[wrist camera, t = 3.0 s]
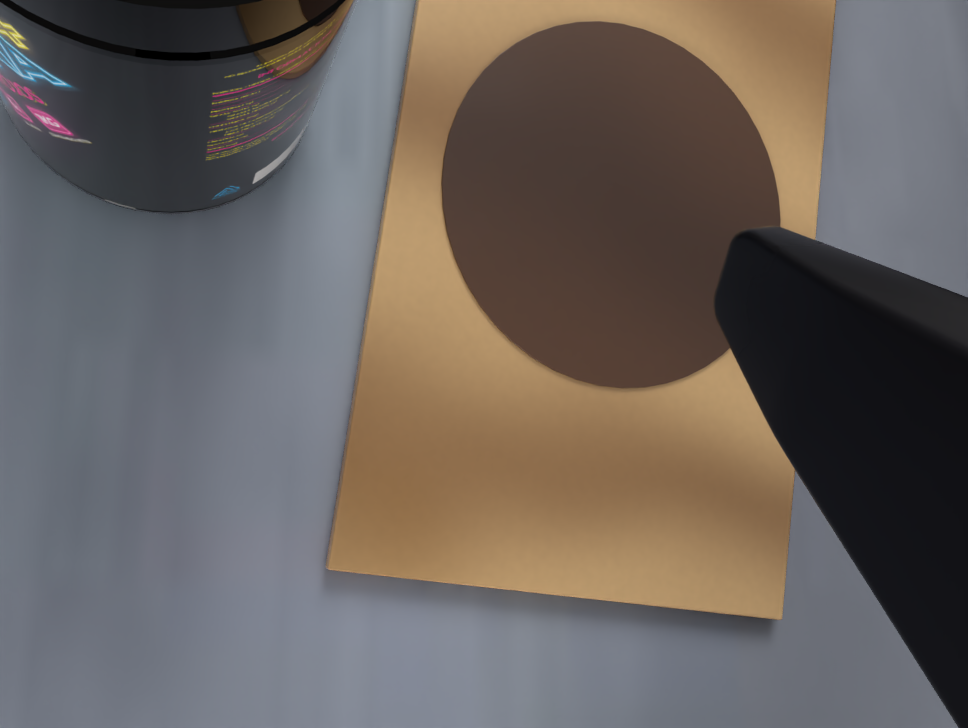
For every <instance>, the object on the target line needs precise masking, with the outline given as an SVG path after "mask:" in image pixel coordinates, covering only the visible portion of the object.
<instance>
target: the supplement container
mask: <svg viewBox="0 0 968 728" xmlns="http://www.w3.org/2000/svg"><path fill="white" fill-rule="evenodd" d="M357 1H358V0H0V98H1V100H2V102H3V104H4V106H5V108H6V110H7V112H8V114H9V116H10V118H11V120H12V122H13V124H14V126H15V127H16V129H17V131H18V132H19V134H20V135H21V137H22V138H23V140H24V141H25V142H26V143H27V145H28V146H29V147H30V148H31V150H32V151H33V152H34V153H35V154H36V155H37V156H38V157H39V158H40V159H41V160H42V161H43V162H44V163H45V164H46V165H47V166H48V167H49V168H50V169H52V170H53V171H54V172H55V173H56V174H57V175H59V176H60V177H61V178H63V179H64V180H66V181H67V182H69V183H70V184H72V185H73V186H75V187H77V188H78V189H80V190H82V191H84V192H85V193H87V194H89V195H91V196H94V197H96V198H98V199H100V200H102V201H105V202H108V203H111V204H114V205H117V206H120V207H123V208H127V209H132V210H136V211H142V212H149V213H159V214H182V213H192V212H199V211H205V210H209V209H213V208H217V207H220V206H223V205H226V204H229V203H231V202H234V201H236V200H238V199H240V198H242V197H244V196H246V195H248V194H250V193H251V192H253V191H254V190H256V189H258V188H259V187H261V186H262V185H263V184H265V183H266V182H267V181H268V180H270V179H271V178H272V177H273V176H274V175H275V174H276V173H277V172H278V171H279V170H280V169H281V168H282V167H283V166H284V165H285V163H286V162H287V161H288V160H289V158H290V157H291V156H292V154H293V153H294V151H295V150H296V148H297V146H298V145H299V143H300V141H301V139H302V137H303V135H304V133H305V130H306V128H307V125H308V123H309V120H310V118H311V115H312V113H313V110H314V108H315V105H316V103H317V100H318V98H319V95H320V93H321V91H322V88H323V86H324V83H325V81H326V78H327V76H328V73H329V71H330V68H331V66H332V63H333V61H334V58H335V56H336V53H337V51H338V48H339V46H340V43H341V41H342V38H343V36H344V33H345V31H346V28H347V26H348V23H349V21H350V18H351V16H352V13H353V11H354V8H355V6H356V3H357Z"/></svg>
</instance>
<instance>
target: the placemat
mask: <svg viewBox="0 0 968 728" xmlns="http://www.w3.org/2000/svg"><path fill="white" fill-rule="evenodd" d="M835 6H836V0H416V4H415V11H414V17H413V23H412V29H411V36H410V42H409V48H408V54H407V61H406V67H405V73H404V79H403V86H402V92H401V98H400V104H399V111H398V117H397V123H396V129H395V136H394V142H393V148H392V154H391V161H390V167H389V173H388V179H387V186H386V192H385V198H384V204H383V211H382V217H381V223H380V229H379V236H378V242H377V248H376V254H375V261H374V267H373V273H372V279H371V286H370V292H369V298H368V304H367V311H366V317H365V323H364V329H363V336H362V342H361V348H360V354H359V361H358V367H357V373H356V379H355V386H354V392H353V398H352V404H351V411H350V417H349V423H348V429H347V436H346V442H345V448H344V454H343V461H342V467H341V473H340V479H339V486H338V492H337V498H336V504H335V511H334V517H333V523H332V529H331V536H330V542H329V548H328V554H327V561H326V568H327V569H329V570H335V571H344V572H353V573H362V574H371V575H380V576H389V577H398V578H406V579H415V580H424V581H433V582H442V583H451V584H460V585H469V586H478V587H487V588H496V589H505V590H514V591H523V592H532V593H541V594H550V595H559V596H568V597H577V598H586V599H595V600H604V601H613V602H622V603H631V604H640V605H649V606H658V607H667V608H676V609H685V610H694V611H703V612H712V613H721V614H730V615H739V616H748V617H757V618H766V619H775V620H782V614H783V602H784V591H785V579H786V568H787V556H788V545H789V533H790V522H791V510H792V499H793V488H794V476H795V469H794V467H793V466H792V464H791V463H790V461H789V459H788V458H787V456H786V455H785V453H784V451H783V450H782V448H781V446H780V445H779V443H778V441H777V440H776V438H775V436H774V434H773V432H772V431H771V429H770V427H769V425H768V423H767V421H766V419H765V417H764V415H763V413H762V411H761V409H760V407H759V405H758V403H757V401H756V399H755V397H754V395H753V393H752V391H751V389H750V387H749V385H748V383H747V381H746V379H745V377H744V375H743V373H742V371H741V369H740V367H739V365H738V363H737V361H736V359H735V357H734V355H733V353H732V351H731V349H730V347H729V345H728V343H727V341H726V339H725V337H724V335H723V333H722V331H721V329H720V327H719V325H718V323H717V320H716V318H715V314H714V308H713V297H714V293H715V289H716V286H717V283H718V280H719V277H720V273H721V270H722V267H723V264H724V260H725V257H726V254H727V251H728V247H729V244H730V242H731V240H732V238H733V237H734V236H735V234H736V233H738V232H739V231H741V230H743V229H749V228H756V227H764V226H779V227H782V228H785V229H787V230H790V231H793V232H795V233H798V234H801V235H803V236H806V237H809V238H811V239H814V240H815V235H816V224H817V213H818V201H819V190H820V178H821V167H822V155H823V144H824V132H825V121H826V109H827V98H828V86H829V75H830V64H831V52H832V41H833V29H834V18H835Z"/></svg>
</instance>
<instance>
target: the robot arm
mask: <svg viewBox="0 0 968 728" xmlns="http://www.w3.org/2000/svg"><path fill="white" fill-rule="evenodd" d="M713 308H714V314H715V318H716V320H717V323H718V325H719V327H720V329H721V331H722V333H723V335H724V337H725V339H726V341H727V343H728V345H729V347H730V349H731V351H732V353H733V355H734V357H735V359H736V361H737V363H738V365H739V367H740V369H741V371H742V373H743V375H744V377H745V379H746V381H747V383H748V385H749V387H750V389H751V391H752V393H753V395H754V397H755V399H756V401H757V403H758V405H759V407H760V409H761V411H762V413H763V415H764V417H765V419H766V421H767V423H768V425H769V427H770V429H771V431H772V432H773V434H774V436H775V438H776V440H777V441H778V443H779V445H780V446H781V448H782V450H783V451H784V453H785V455H786V456H787V458H788V459H789V461H790V463H791V464H792V466H793V467H794V469H795V470H796V472H797V474H798V475H799V477H800V478H801V480H802V481H803V483H804V485H805V486H806V488H807V489H808V491H809V493H810V494H811V496H812V497H813V499H814V500H815V502H816V504H817V505H818V507H819V508H820V510H821V511H822V513H823V515H824V516H825V518H826V519H827V521H828V522H829V524H830V526H831V527H832V529H833V530H834V532H835V534H836V535H837V537H838V538H839V540H840V541H841V543H842V545H843V546H844V548H845V549H846V551H847V552H848V554H849V556H850V557H851V559H852V560H853V562H854V563H855V565H856V567H857V568H858V570H859V571H860V573H861V575H862V576H863V578H864V579H865V581H866V582H867V584H868V586H869V587H870V589H871V590H872V592H873V593H874V595H875V597H876V598H877V600H878V601H879V603H880V604H881V606H882V608H883V609H884V611H885V612H886V614H887V616H888V617H889V619H890V620H891V622H892V623H893V625H894V627H895V628H896V630H897V631H898V633H899V634H900V636H901V638H902V639H903V641H904V642H905V644H906V646H907V647H908V649H909V650H910V652H911V653H912V655H913V657H914V658H915V660H916V661H917V663H918V664H919V666H920V668H921V669H922V671H923V672H924V674H925V675H926V677H927V679H928V680H929V682H930V683H931V685H932V687H933V688H934V690H935V691H936V693H937V694H938V696H939V698H940V699H941V701H942V702H943V704H944V705H945V707H946V709H947V710H948V712H949V713H950V715H951V716H952V718H953V720H954V721H955V723H956V724H957V726H958V728H968V297H965V296H962V295H960V294H957V293H954V292H952V291H949V290H946V289H944V288H941V287H938V286H936V285H933V284H931V283H928V282H925V281H923V280H920V279H917V278H915V277H912V276H909V275H907V274H904V273H901V272H899V271H896V270H893V269H891V268H888V267H885V266H883V265H880V264H877V263H875V262H872V261H870V260H867V259H864V258H862V257H859V256H856V255H854V254H851V253H848V252H846V251H843V250H840V249H838V248H835V247H832V246H830V245H827V244H824V243H822V242H819V241H816V240H814V239H811V238H809V237H806V236H803V235H801V234H798V233H795V232H793V231H790V230H787V229H785V228H782V227H779V226H764V227H756V228H749V229H743V230H741V231H739V232H738V233H736V234H735V236H734V237H733V238H732V240H731V242H730V244H729V247H728V251H727V254H726V257H725V260H724V264H723V267H722V270H721V273H720V277H719V280H718V283H717V286H716V289H715V293H714V297H713Z"/></svg>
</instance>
